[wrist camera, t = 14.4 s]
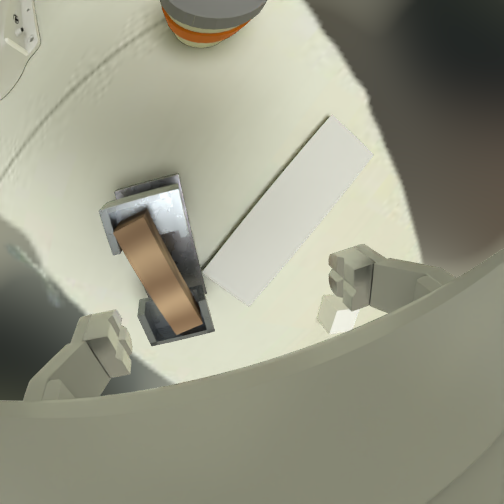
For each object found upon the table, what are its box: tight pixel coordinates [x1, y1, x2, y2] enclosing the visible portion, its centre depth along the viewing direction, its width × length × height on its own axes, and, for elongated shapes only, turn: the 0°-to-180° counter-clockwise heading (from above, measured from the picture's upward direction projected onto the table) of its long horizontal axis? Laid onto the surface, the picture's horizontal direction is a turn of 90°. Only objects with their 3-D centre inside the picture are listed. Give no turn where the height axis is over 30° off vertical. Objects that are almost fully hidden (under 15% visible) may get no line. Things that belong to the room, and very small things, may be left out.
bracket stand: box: [99, 173, 215, 346], centre depth 38 cm, size 21×10×12 cm, turn 9°
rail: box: [113, 208, 203, 335], centre depth 33 cm, size 16×4×4 cm, turn 20°
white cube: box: [317, 294, 360, 334], centre depth 56 cm, size 6×6×6 cm
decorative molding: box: [202, 115, 374, 307], centre depth 46 cm, size 34×5×10 cm
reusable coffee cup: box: [160, 0, 267, 48], centre depth 24 cm, size 13×13×15 cm
